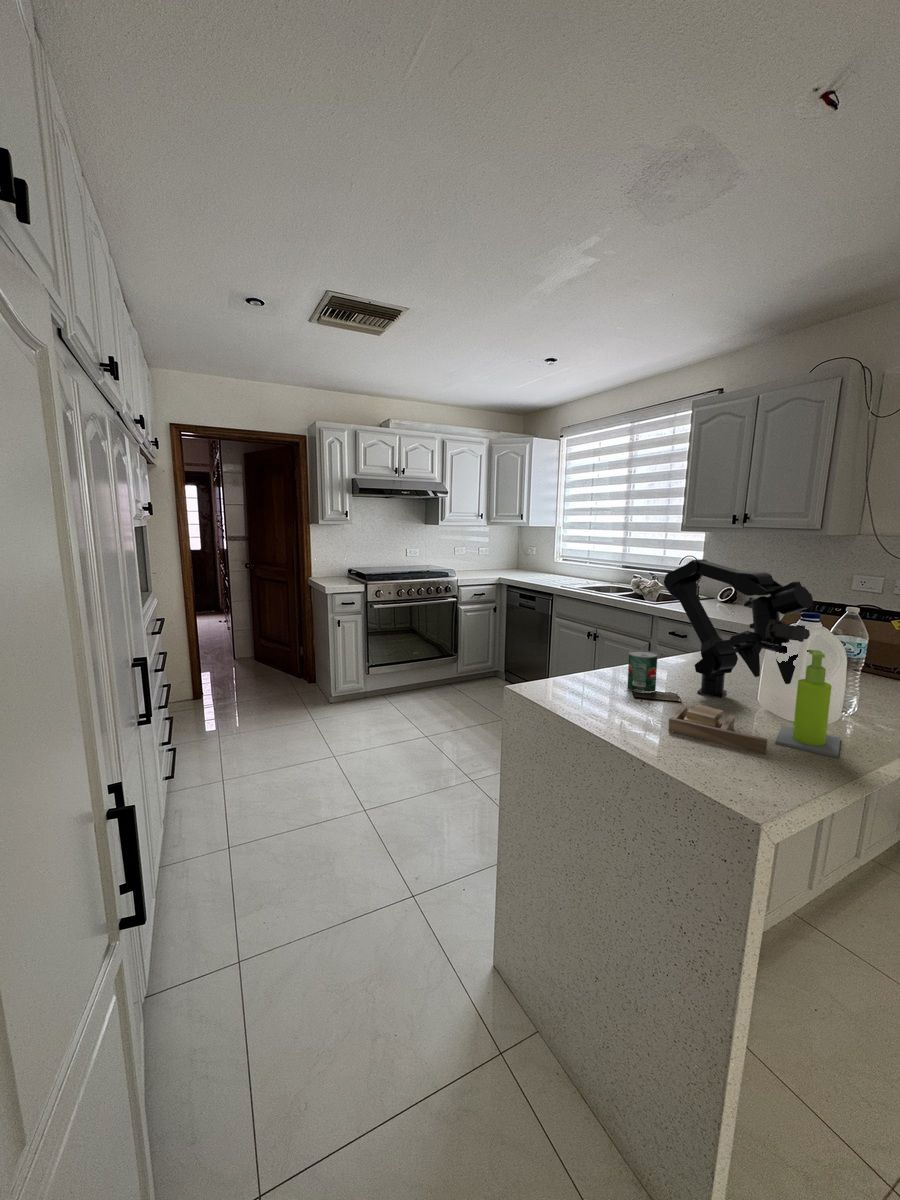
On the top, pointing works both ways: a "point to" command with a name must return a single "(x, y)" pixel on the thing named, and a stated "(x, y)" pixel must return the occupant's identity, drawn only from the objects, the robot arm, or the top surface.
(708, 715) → the offcut stack
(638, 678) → the canned tomato
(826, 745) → the slate mat
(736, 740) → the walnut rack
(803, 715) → the soap dispenser
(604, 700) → the top surface
